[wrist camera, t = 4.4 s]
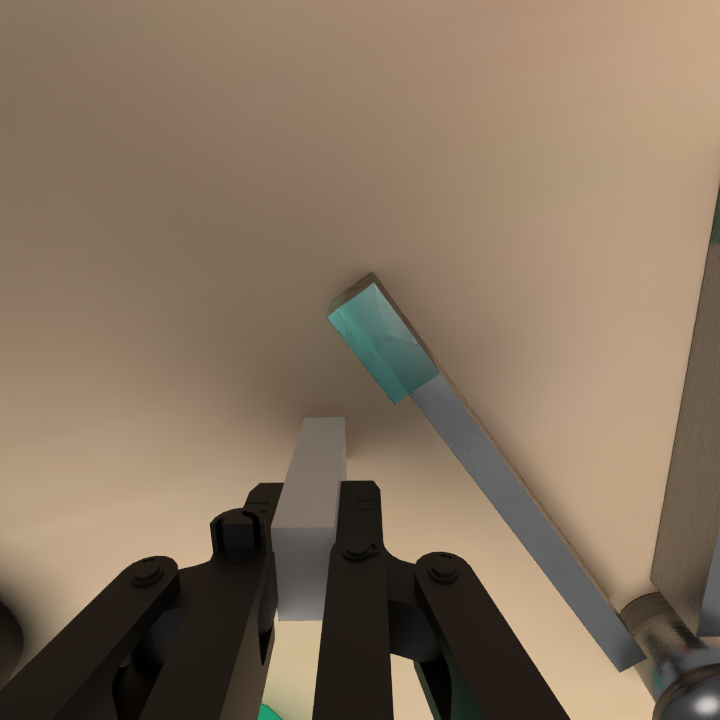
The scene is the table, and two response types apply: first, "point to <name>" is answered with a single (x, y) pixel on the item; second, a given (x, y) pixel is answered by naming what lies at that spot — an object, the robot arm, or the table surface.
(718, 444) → the tongs fixed
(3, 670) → the mug
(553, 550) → the bar
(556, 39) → the table surface
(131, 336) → the table surface
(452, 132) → the table surface
